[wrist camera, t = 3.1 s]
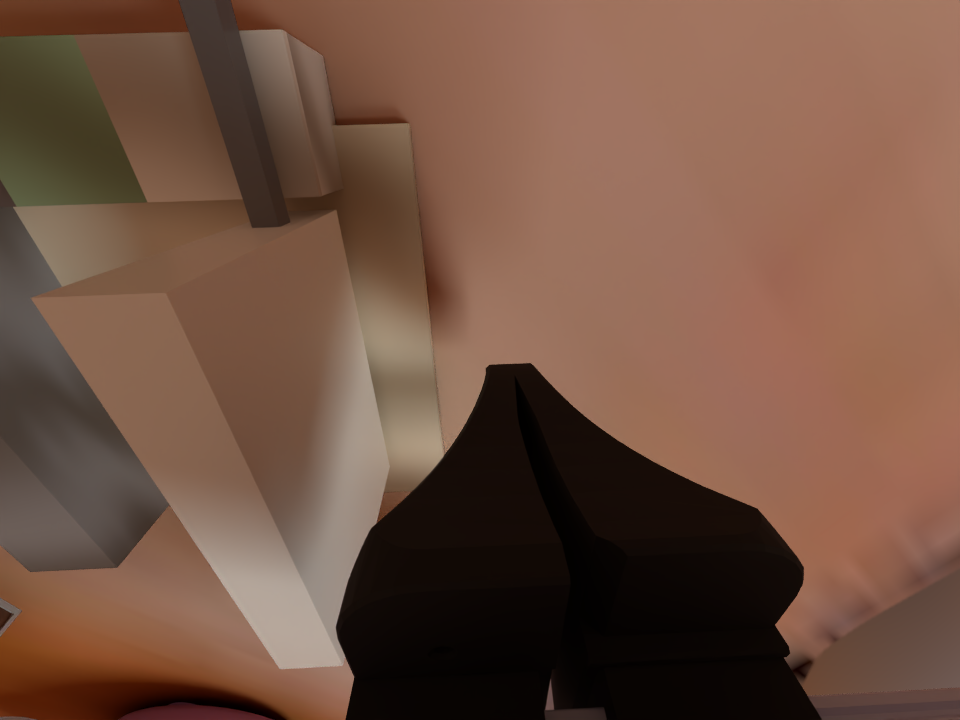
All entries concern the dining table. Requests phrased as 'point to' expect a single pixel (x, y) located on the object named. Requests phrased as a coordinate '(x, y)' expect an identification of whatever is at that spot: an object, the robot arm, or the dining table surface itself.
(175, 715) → the teapot
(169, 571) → the dining table surface
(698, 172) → the dining table surface
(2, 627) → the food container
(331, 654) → the pad
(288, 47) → the frame
